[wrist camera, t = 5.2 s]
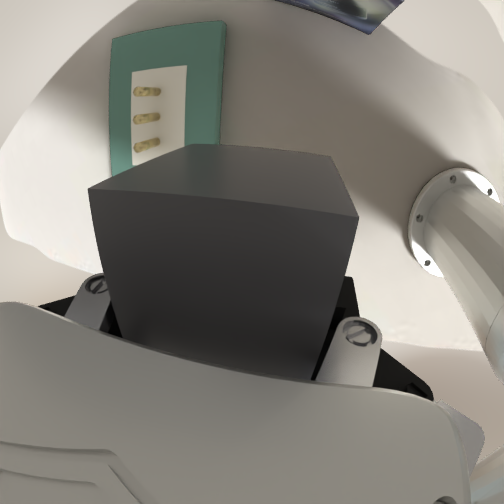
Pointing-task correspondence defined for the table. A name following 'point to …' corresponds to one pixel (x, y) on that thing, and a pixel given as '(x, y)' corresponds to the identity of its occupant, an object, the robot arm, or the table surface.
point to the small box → (351, 11)
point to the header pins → (146, 118)
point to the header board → (165, 90)
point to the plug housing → (227, 254)
